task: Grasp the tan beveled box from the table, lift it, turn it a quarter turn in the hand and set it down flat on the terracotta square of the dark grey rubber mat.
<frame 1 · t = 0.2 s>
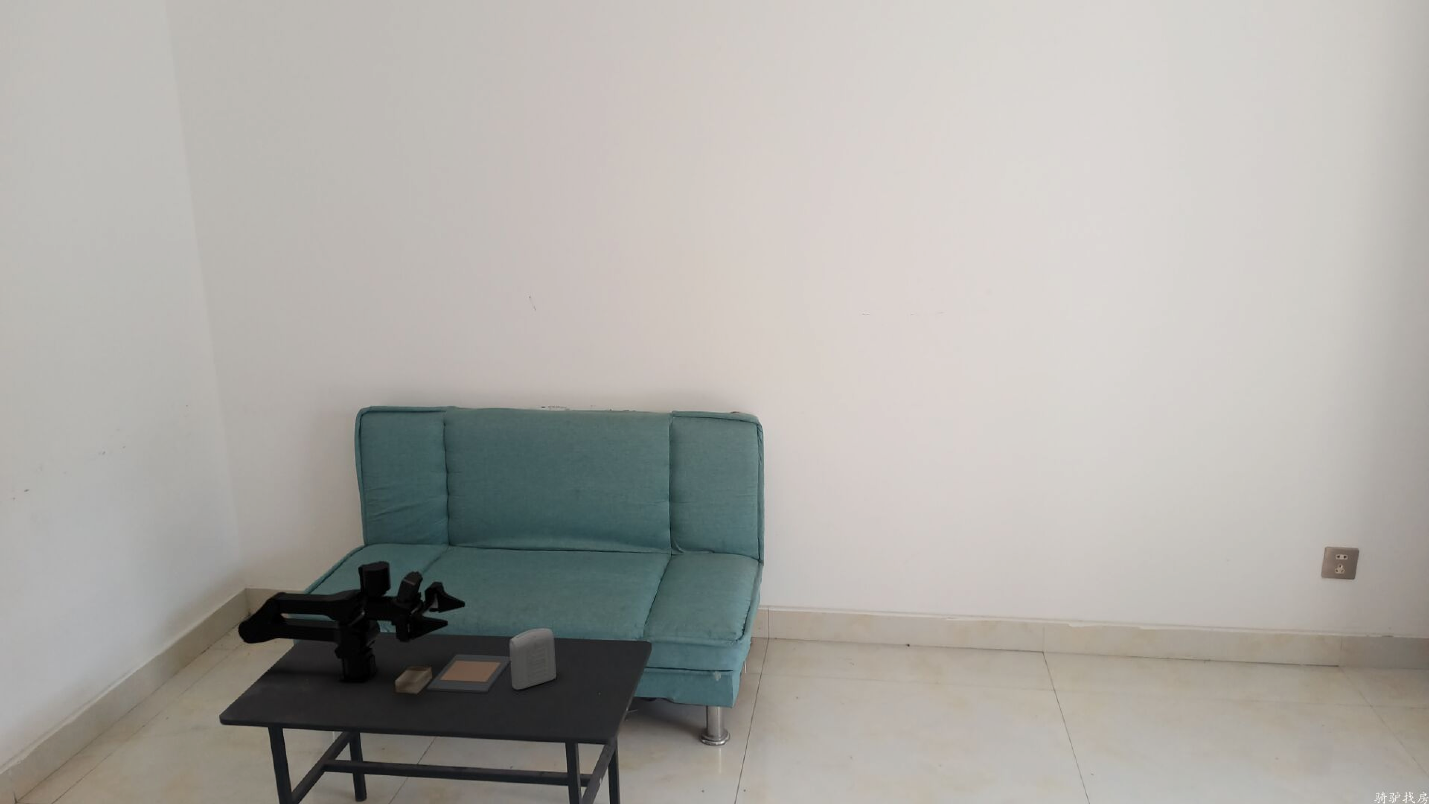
hand: (456, 613, 210), 16 cm above the table, tool horizontal, fingers open, 9 cm apart
grey rounded block: (534, 682, 212), on the table
tan beveled box: (414, 686, 212), on the table
rubber mat: (471, 674, 216), on the table
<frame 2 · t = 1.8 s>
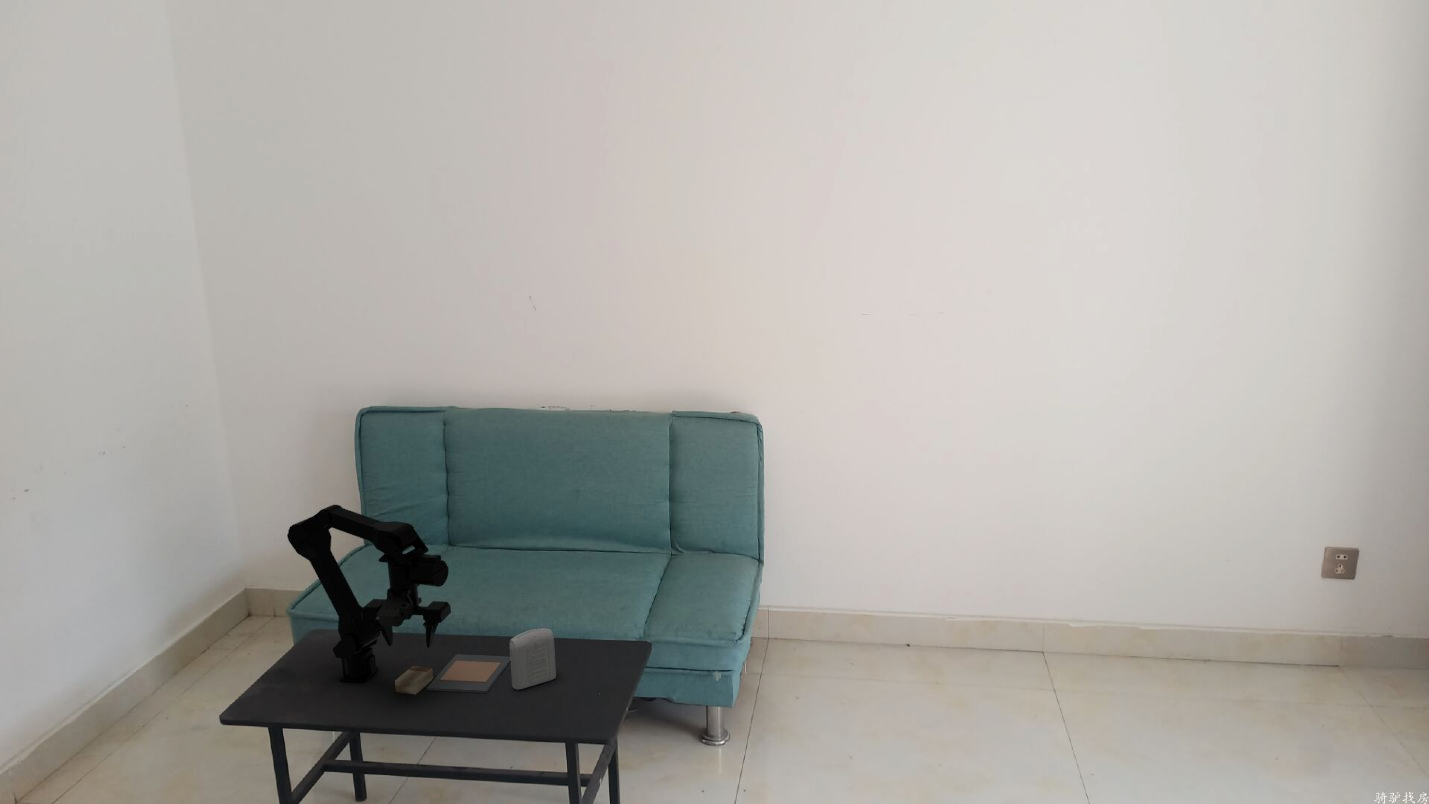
hand: (409, 646, 210), 9 cm above the table, tool pointing down, fingers open, 9 cm apart
nothing on the table moved.
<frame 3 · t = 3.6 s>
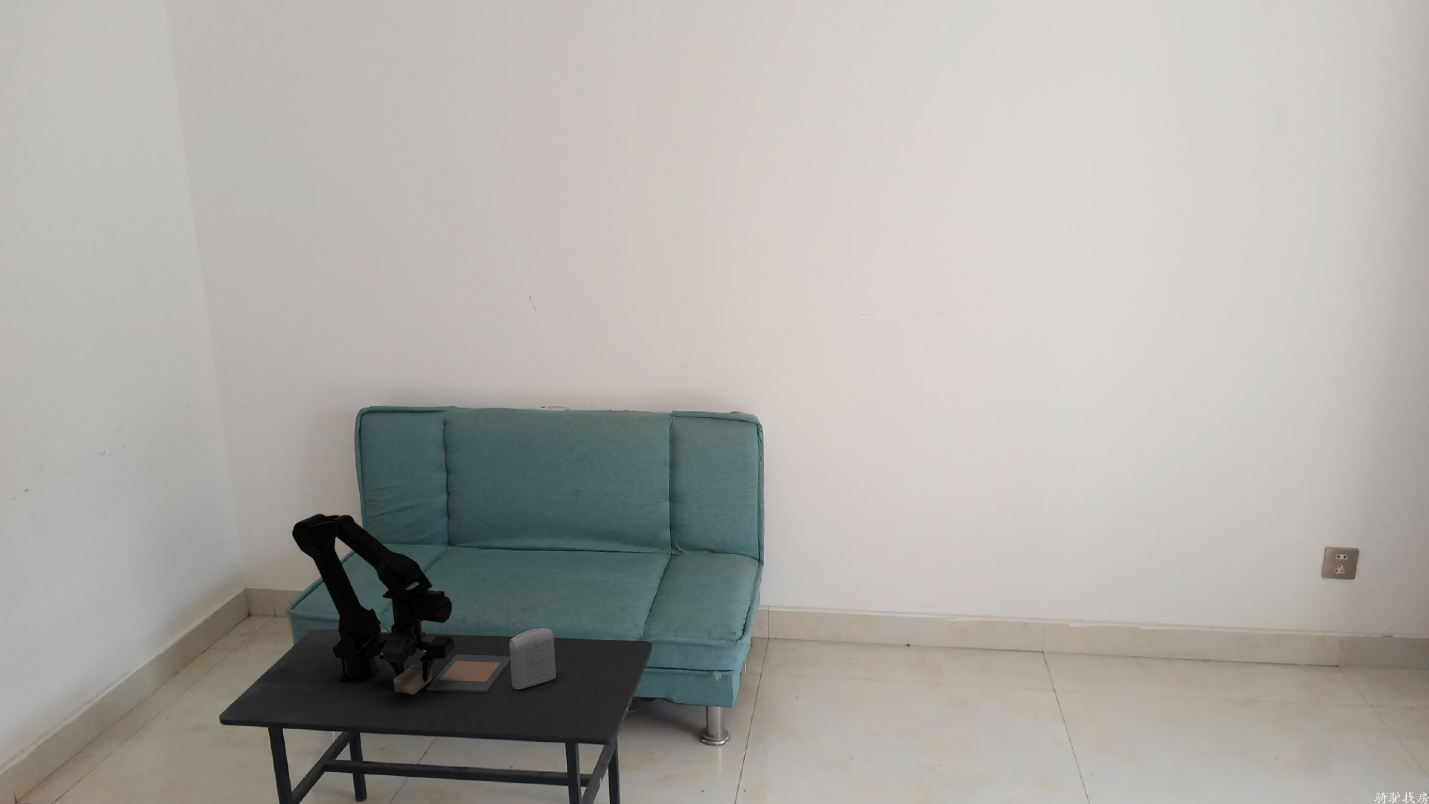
hand: (413, 680, 212), 1 cm above the table, tool pointing down, fingers closed on tan beveled box, 5 cm apart
tan beveled box: (414, 685, 212), on the table, touching gripper
everything else where it was.
when the fingers open (3 cm above the table, at t = 8.9 s): tan beveled box drops 1 cm, resting on rubber mat.
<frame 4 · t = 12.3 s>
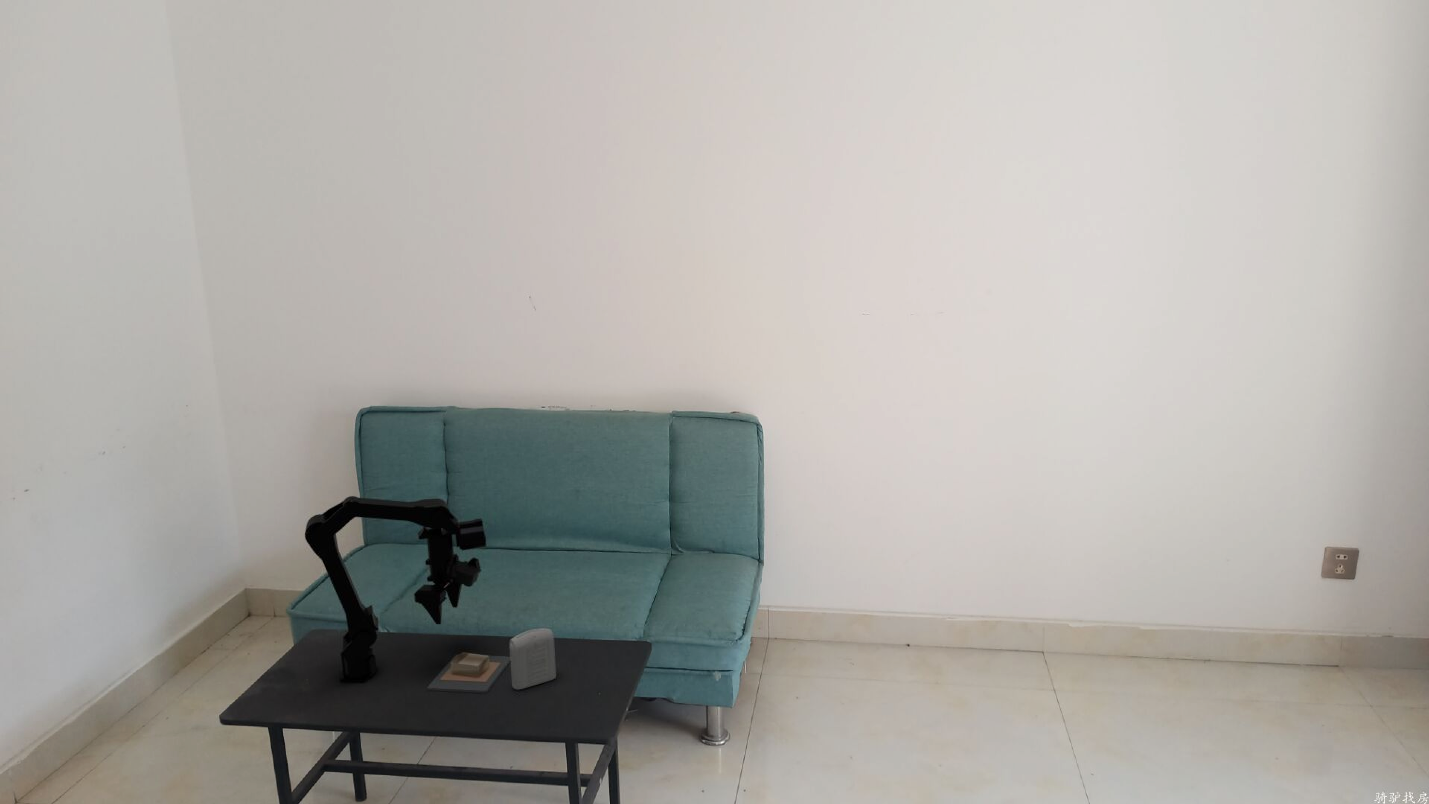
hand: (447, 615, 222), 11 cm above the table, tool pointing down, fingers open, 9 cm apart
tan beveled box: (470, 671, 216), point 1 cm above the table, touching rubber mat
everything else where it was.
at the end: tan beveled box inside the target area (0.1 cm from its centre), point 0.8 cm above the table; tan beveled box tilted 0°; the gripper is holding nothing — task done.
